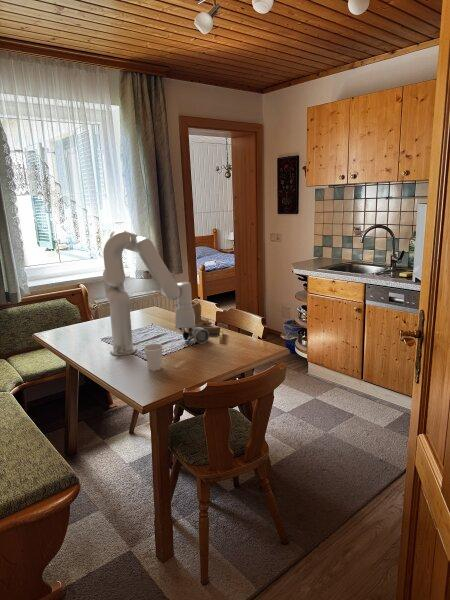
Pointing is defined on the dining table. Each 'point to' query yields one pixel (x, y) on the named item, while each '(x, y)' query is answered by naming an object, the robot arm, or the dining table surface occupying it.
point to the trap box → (212, 332)
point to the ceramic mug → (199, 336)
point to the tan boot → (199, 315)
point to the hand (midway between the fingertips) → (186, 339)
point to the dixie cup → (153, 356)
